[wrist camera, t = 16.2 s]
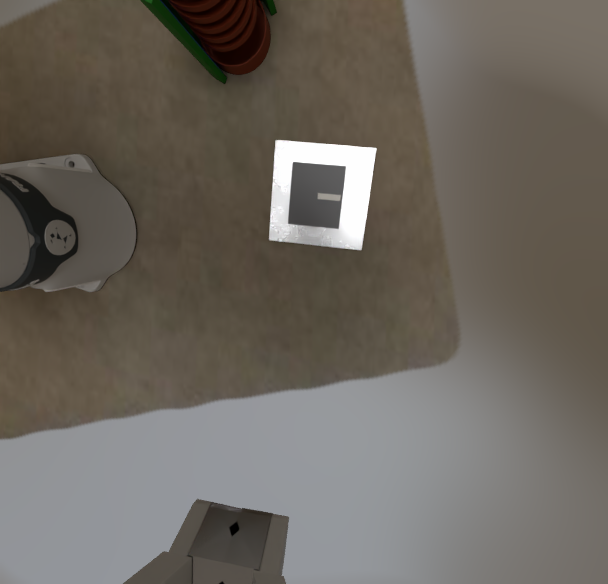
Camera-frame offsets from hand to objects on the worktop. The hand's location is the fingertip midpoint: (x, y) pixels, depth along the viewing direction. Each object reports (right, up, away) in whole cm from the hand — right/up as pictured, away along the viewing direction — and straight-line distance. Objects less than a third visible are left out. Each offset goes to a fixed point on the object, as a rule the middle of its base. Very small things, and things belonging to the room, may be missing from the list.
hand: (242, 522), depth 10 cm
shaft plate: (+4, +19, +30) cm, 36 cm away
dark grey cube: (+4, +19, +29) cm, 35 cm away
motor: (-6, +37, +27) cm, 46 cm away
